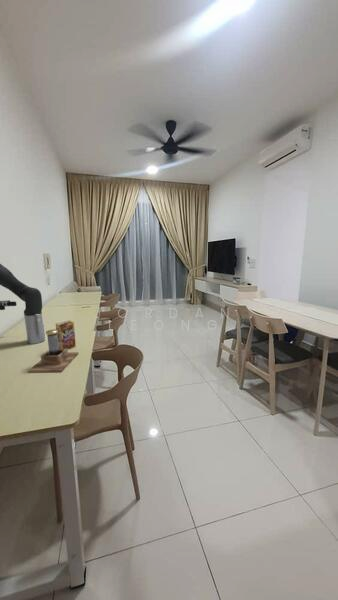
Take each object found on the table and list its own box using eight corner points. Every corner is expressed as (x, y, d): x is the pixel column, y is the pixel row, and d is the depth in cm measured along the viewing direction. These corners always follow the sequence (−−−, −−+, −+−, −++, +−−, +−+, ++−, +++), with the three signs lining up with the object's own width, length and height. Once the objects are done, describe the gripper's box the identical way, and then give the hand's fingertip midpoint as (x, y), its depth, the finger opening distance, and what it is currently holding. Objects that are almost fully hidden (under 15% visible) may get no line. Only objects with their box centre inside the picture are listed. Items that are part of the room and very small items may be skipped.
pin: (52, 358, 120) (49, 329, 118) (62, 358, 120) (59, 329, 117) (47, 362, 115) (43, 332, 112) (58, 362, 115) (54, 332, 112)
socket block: (50, 354, 128) (49, 345, 127) (78, 353, 128) (77, 344, 127) (28, 372, 108) (27, 361, 107) (61, 372, 108) (60, 361, 107)
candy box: (61, 351, 131) (59, 324, 128) (57, 350, 133) (54, 323, 130) (76, 346, 138) (74, 320, 135) (72, 345, 140) (69, 319, 138)
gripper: (-37, 301, 109) (-1, 300, 109) (-13, 296, 123) (18, 295, 123) (-34, 317, 111) (1, 316, 111) (-11, 310, 125) (20, 309, 125)
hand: (10, 305), depth 117 cm, fingers open, 8 cm apart
